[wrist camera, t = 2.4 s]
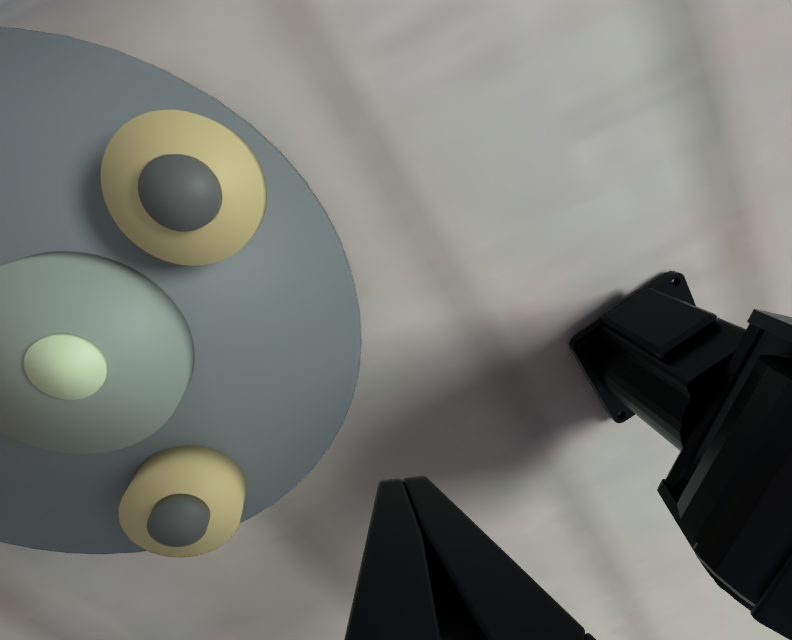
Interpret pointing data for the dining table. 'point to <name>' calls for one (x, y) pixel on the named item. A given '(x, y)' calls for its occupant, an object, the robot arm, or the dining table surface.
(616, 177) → the dining table surface
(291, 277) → the plate
